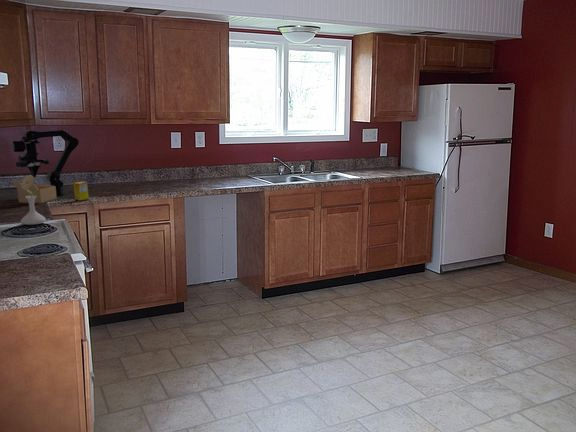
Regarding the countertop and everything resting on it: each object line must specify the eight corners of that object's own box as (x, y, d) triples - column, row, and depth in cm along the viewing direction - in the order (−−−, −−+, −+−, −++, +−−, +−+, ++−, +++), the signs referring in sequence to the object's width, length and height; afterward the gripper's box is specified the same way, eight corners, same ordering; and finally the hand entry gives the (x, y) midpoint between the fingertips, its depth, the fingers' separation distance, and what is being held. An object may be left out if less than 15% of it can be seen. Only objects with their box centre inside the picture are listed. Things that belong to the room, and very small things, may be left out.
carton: (35, 197, 348) (34, 185, 346) (57, 199, 343) (56, 186, 341) (18, 202, 334) (16, 188, 332) (40, 203, 330) (39, 190, 328)
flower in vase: (19, 223, 281) (13, 173, 276) (43, 220, 288) (38, 171, 282) (24, 228, 271) (18, 176, 265) (49, 225, 277) (44, 174, 272)
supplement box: (83, 199, 344) (82, 181, 341) (89, 200, 340) (87, 182, 338) (74, 200, 339) (73, 182, 337) (80, 201, 335) (78, 183, 333)
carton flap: (11, 180, 327) (10, 180, 326) (32, 181, 323) (31, 181, 322) (17, 188, 332) (17, 189, 332) (38, 189, 328) (37, 190, 328)
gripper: (37, 149, 353) (39, 174, 356) (9, 152, 337) (11, 177, 341) (48, 150, 347) (50, 175, 350) (20, 153, 332) (23, 179, 335)
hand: (34, 177), depth 344 cm, fingers closed
